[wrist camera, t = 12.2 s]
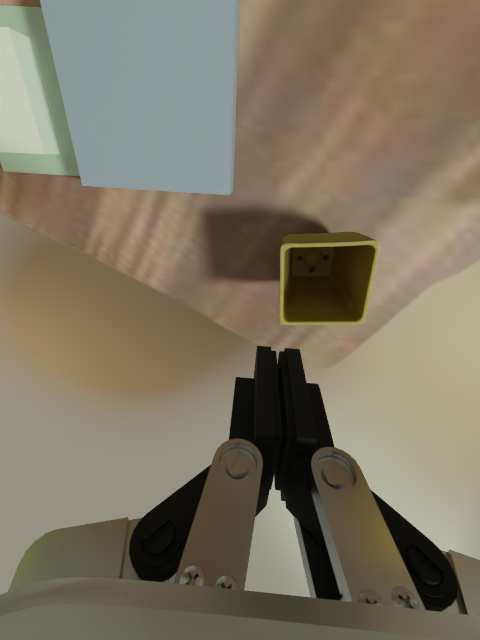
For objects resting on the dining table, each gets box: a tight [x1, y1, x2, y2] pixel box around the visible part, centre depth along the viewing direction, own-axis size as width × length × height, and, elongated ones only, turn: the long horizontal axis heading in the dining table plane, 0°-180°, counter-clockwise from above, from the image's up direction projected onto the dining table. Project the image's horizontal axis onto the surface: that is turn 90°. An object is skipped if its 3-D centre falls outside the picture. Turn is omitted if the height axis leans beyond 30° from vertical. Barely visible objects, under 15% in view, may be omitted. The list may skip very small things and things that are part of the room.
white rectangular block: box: [0, 27, 60, 154], centre depth 26 cm, size 9×6×2 cm, turn 178°
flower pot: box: [279, 232, 380, 325], centre depth 30 cm, size 9×9×9 cm
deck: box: [40, 0, 239, 195], centre depth 25 cm, size 14×15×4 cm
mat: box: [0, 5, 80, 176], centre depth 27 cm, size 13×11×1 cm
